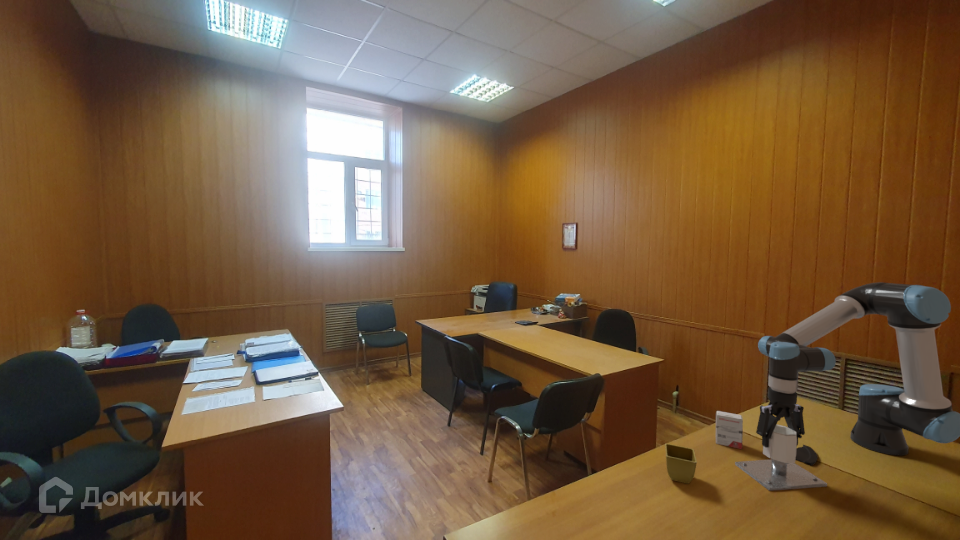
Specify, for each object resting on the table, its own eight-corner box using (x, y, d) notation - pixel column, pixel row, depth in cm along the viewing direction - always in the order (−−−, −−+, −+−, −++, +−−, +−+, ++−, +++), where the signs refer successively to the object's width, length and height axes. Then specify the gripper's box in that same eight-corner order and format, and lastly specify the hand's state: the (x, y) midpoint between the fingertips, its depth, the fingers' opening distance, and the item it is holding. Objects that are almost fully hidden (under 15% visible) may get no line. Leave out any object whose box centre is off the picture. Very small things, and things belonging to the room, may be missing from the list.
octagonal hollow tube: (779, 448, 128) (780, 423, 128) (801, 462, 120) (803, 435, 120) (758, 449, 128) (759, 424, 127) (779, 463, 120) (780, 436, 119)
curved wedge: (825, 456, 136) (826, 451, 136) (812, 468, 129) (812, 463, 129) (797, 445, 143) (797, 441, 143) (782, 456, 136) (783, 452, 136)
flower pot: (693, 474, 126) (694, 448, 125) (696, 489, 118) (696, 462, 117) (664, 467, 129) (665, 443, 129) (665, 482, 121) (666, 456, 121)
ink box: (741, 443, 144) (742, 414, 143) (742, 449, 140) (743, 419, 139) (715, 438, 149) (716, 409, 148) (715, 443, 144) (716, 414, 144)
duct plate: (787, 461, 132) (787, 442, 132) (826, 486, 118) (828, 465, 118) (735, 464, 131) (735, 445, 130) (769, 490, 117) (770, 469, 116)
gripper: (800, 383, 127) (797, 447, 129) (744, 386, 125) (741, 450, 127) (822, 392, 120) (818, 459, 121) (762, 395, 118) (760, 463, 119)
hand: (779, 455), depth 124 cm, fingers closed on octagonal hollow tube, 8 cm apart
